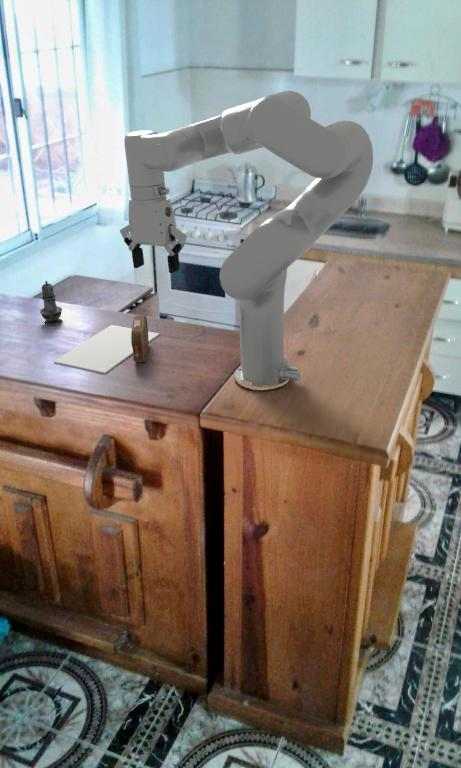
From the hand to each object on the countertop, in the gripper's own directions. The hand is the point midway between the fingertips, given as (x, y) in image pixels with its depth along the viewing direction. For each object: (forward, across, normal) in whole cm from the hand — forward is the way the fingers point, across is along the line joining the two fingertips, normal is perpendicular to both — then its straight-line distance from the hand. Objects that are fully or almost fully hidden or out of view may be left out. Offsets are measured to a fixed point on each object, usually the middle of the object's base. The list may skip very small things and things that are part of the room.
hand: (156, 268), depth 159 cm
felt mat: (+22, +17, +1) cm, 28 cm away
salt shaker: (+22, +41, -5) cm, 47 cm away
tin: (+22, +7, 0) cm, 23 cm away
